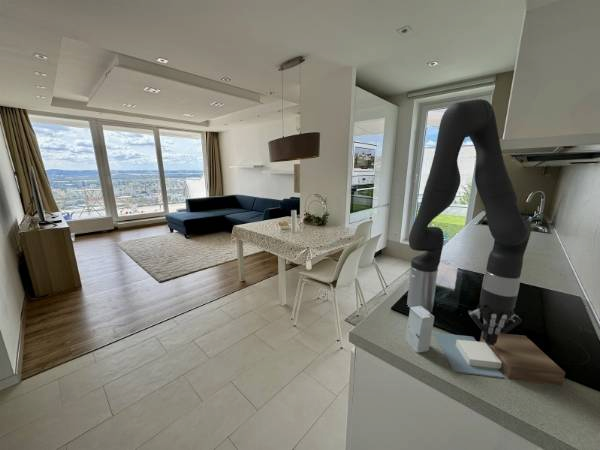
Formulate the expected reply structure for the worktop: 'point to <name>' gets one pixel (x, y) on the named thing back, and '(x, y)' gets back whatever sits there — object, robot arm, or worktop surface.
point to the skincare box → (419, 329)
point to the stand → (525, 360)
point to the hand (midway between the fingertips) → (488, 343)
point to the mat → (457, 359)
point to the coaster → (478, 354)
